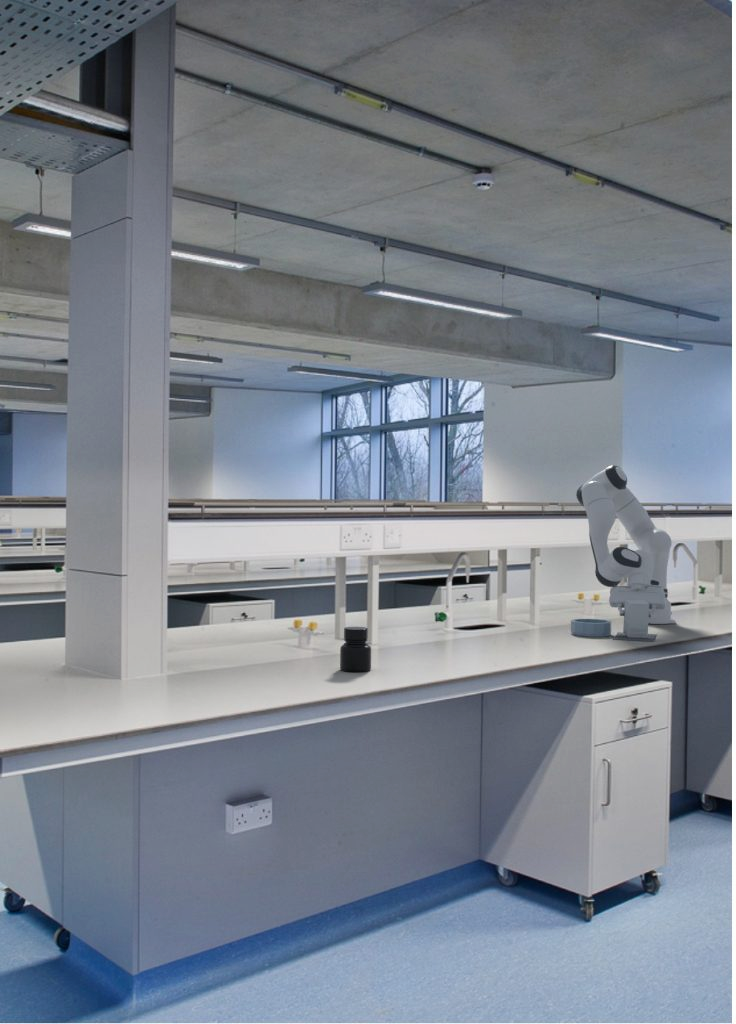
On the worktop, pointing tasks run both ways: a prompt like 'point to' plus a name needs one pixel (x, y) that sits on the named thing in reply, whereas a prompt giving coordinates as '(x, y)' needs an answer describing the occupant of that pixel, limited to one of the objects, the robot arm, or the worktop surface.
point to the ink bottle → (355, 650)
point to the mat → (623, 637)
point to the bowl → (591, 627)
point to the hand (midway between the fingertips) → (635, 615)
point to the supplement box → (636, 618)
